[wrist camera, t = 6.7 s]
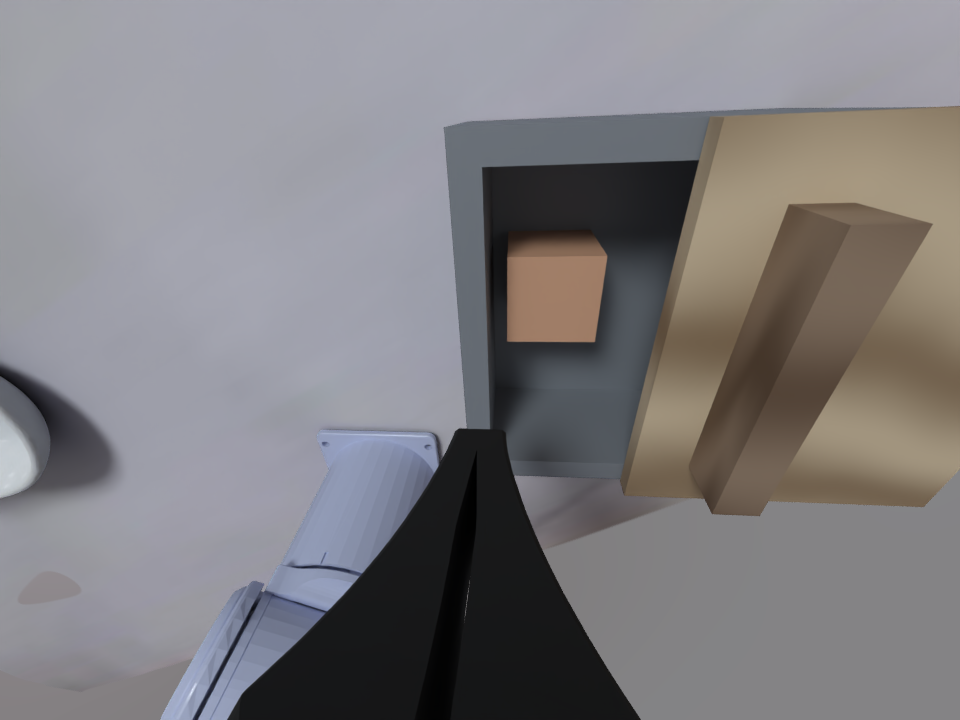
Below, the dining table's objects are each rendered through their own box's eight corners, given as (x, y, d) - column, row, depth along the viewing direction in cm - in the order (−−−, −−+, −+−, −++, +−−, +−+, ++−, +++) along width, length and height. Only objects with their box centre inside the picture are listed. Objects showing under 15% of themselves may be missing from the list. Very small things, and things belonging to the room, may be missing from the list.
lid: (906, 490, 16) (978, 559, 14) (620, 480, 17) (637, 543, 15) (1259, 93, 9) (1559, 86, 6) (710, 116, 10) (778, 118, 7)
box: (686, 398, 22) (737, 483, 17) (479, 394, 23) (470, 473, 18) (782, 108, 14) (926, 107, 9) (466, 121, 15) (443, 127, 10)
